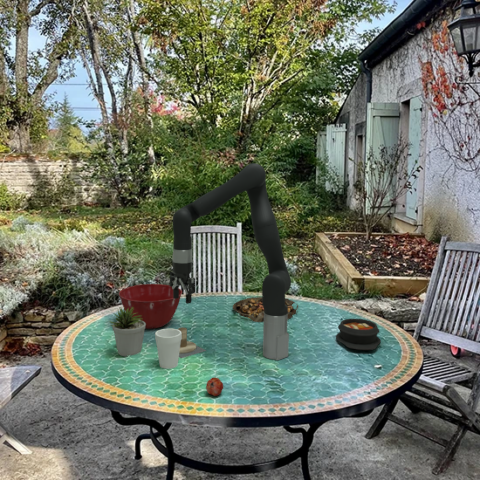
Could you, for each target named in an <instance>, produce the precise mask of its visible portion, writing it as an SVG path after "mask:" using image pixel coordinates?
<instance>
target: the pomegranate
mask: <svg viewBox="0 0 480 480" xmlns="http://www.w3.org/2000/svg"><path fill="white" fill-rule="evenodd" d="M205 389H206V391H207V393H208V395H211V396H214V397H217V396H219V395H221V394H222V392H223V389H224V384H223V382H222V380H220V379H219V378H218V377H216V376H215V377H211V378H210V379H209V380H207V381H206V386H205Z"/></svg>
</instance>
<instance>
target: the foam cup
mask: <svg viewBox="0 0 480 480" xmlns="http://www.w3.org/2000/svg"><path fill="white" fill-rule="evenodd" d="M154 335H155V344H156V349H157V356H158V362H159V367H160V368H161V369H165V370H166V369H168V370H170V369H174V368H177V367H178V364H179V359H180V357H179V351H180V344H181V339H182V333H181V331H180V330H178V328H177V329H176V328H163V329H159V330H157V331H155V332H154Z"/></svg>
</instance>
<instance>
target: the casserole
mask: <svg viewBox="0 0 480 480" xmlns="http://www.w3.org/2000/svg"><path fill="white" fill-rule="evenodd" d="M337 328H338V330H339V332H337V334H336V335H335V339H336V340H337V341H338V342H340V343H342V344H343V345H344V346H346V348H349V349H352V350H358V351H373V350H375V349H377V348H378V346H379V344H381V342H382V341H381V338H380V337H379V336H378V334H379V333H380V329H379V327H378V325H377V323H375V322H373V321H372V320H368V319H364V318H363V319H362V318H346V319H343V320H341V321H340V324H339V325H337Z"/></svg>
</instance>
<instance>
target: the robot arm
mask: <svg viewBox="0 0 480 480" xmlns="http://www.w3.org/2000/svg"><path fill="white" fill-rule="evenodd" d="M266 175H267V173H266V171H265V168H264V167H263V166H262V165H260V163H252V162H251V163H249V164H247V165H246V166H245V167H244V168H243V169H241V170H240V171H239V172H238V173H237V174H236V175H235V176H233V177H232V178H230V179H229V180H227V181H226V182H224V183H223V184H220V185H219V186H217V187H215V188H213V189H211V190H210V191H208V192H206V193H205V194H203V195H202V196H200V197H198V198H196V199H195V200H194V201H192V202H191V203H188V204H186V205H184V206H183V207H181V208H179V209H177V210H176V211H175V212H174V214H173V217H172V233H173V240H172V241H173V242H172V243H173V244H172V245H173V246H172V247H173V249H172V250H173V251H172V271H170V273H169V285H170V287H172V289H173V298H174V299H177V298H179V289H180V287H182V289H183V290H184V293H185V304H191V303H192V297H193V296H192V294H195V293H196V278H195V277H191V275H190V274H191V273H192V272H193V249H192V247H193V246H192V244H193V242H192V241H193V240H192V235H191V234H192V223H193V222H195V221H197V220H199V219H200V218H201V217H204V216H207V215H208V214H210V213H212V212H214V211H215V210H217V209H218V208H221V207H222V206H223V205H224V204H226V203H227V202H229V201H230V200H231V199H233V198H235V197H236V196H238V195H239V194H243V192H246V195H247V197H248V201H249V206H250V217H251V223H252V229H253V233H254V238H255V242H256V245H257V246H258V248H259V249H260V252H261V253H262V254H263V256H264V259H265V261H266V264H267V269H268V275H266V276H265V277H264V278H263V281H262V287H261V288H262V289H261V297H262V304H263V308H264V322H263V327H262V328H263V331H262V332H263V333H262V334H263V336H262V356H263V357H264V358H267V359H270V360H275V361H279V360H282V359H286V358H287V357H289V343H290V333H289V332H288V320H289V319H288V307H287V305H285V298H286V293H287V292H289V290H290V289H291V286H292V280H291V279H292V278H291V276H290V275H291V274H290V272H289V269H288V267H287V264H286V263H287V262H286V261H285V257H284V253H283V247H282V243H281V238H280V232H279V228H278V224H277V220H276V216H275V213H274V211H273V208H272V205H271V203H270V200H269V195H268V191H267V181H266V180H267V179H266V177H267V176H266ZM178 288H179V289H178Z"/></svg>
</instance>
